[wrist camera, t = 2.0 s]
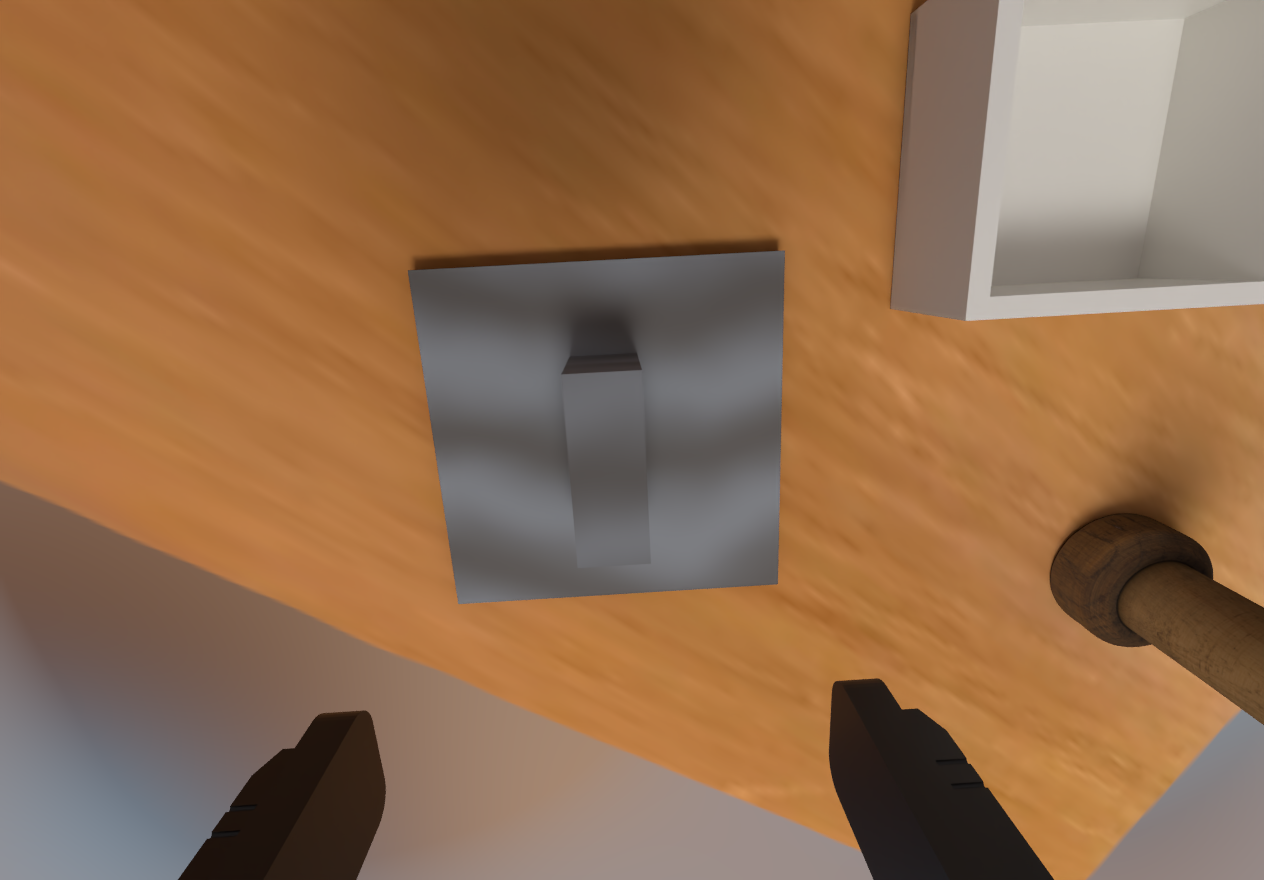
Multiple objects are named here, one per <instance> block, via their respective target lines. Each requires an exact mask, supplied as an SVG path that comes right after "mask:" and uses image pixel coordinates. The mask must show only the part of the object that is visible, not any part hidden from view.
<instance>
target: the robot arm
mask: <svg viewBox="0 0 1264 880" xmlns="http://www.w3.org/2000/svg"><path fill="white" fill-rule="evenodd" d="M829 761H830V769H831V774H832V779H833V783H834V786H835V789H836V792H837V795H838V797H839V800H840V802H841V804H842V807H843V809H844V811H845V814H846V816H847V819H848V821H849V823H850V826H851V828H852V830H853V833H854V835H855V837H856V840H857V842H858V844H859V847H860V849H861V851H862V854H863V856H864V858H865V861H866V863H867V865H868V868H869V870H870V872H871V875H872V877H873V879H874V880H1054V879H1053V878H1052V876H1051V875H1050V873H1049V872H1048V871H1047V869H1046V868H1045V866H1044V865H1043V864H1042V862H1041V861H1040V859H1039V858H1038V857H1037V855H1036V854H1035V853H1034V851H1033V850H1032V848H1031V847H1030V846H1029V844H1028V843H1027V841H1026V840H1025V839H1024V837H1023V836H1022V835H1021V833H1020V832H1019V830H1018V829H1017V828H1016V826H1015V825H1014V823H1013V822H1012V821H1011V819H1010V818H1009V817H1008V815H1007V814H1006V812H1005V811H1004V810H1003V808H1002V807H1001V805H1000V804H999V803H998V801H997V800H996V799H995V797H994V796H993V794H992V793H991V792H990V790H989V789H988V788H985V787H984V784H983V781H982V779H981V778H980V776H979V775H978V774H977V772H976V771H975V769H974V768H973V767H972V765H971V764H968V763H967V759H966V757H965V756H964V754H963V753H962V751H961V750H960V749H959V747H958V746H957V744H956V743H955V742H954V740H953V739H952V738H951V736H950V735H949V733H948V732H947V731H946V730H945V729H944V728H942V727H941V726H940V725H938V724H937V723H936V722H935V721H933V720H932V719H931V718H929V717H928V716H927V715H925V714H924V713H923V712H922V711H920V710H919V709H904V710H902V709H901V708H900V706H899V705H898V703H897V702H896V700H895V698H894V697H893V695H892V694H891V692H890V691H889V689H888V688H887V686H886V685H885V683H884V682H883V681H882V680H880V679H862V680H847V681H836V682H835V683H834V684H833V688H832V701H831V721H830V741H829ZM385 789H386V786H385V778H384V773H383V768H382V763H381V759H380V754H379V750H378V744H377V740H376V735H375V730H374V725H373V721H372V718H371V715H370V714H369V713H368V712H367V711H351V712H336V713H323V714H320V715H318V716H317V717H316V718H315V719H314V720H313V721H312V723H311V725H310V726H309V727H308V729H307V731H306V732H305V734H304V735H303V737H302V738H301V740H300V741H299V743H298V744H297V746H296V747H295V748H293V749H282V750H281V751H280V752H279V753H278V754H277V755H275V756H274V757H273V758H272V759H271V760H270V761H268V762H267V763H266V764H265V765H264V766H263V767H261V768H260V769H259V770H258V771H257V772H256V773H255V774H253V775H252V776H251V778H250V779H249V780H248V782H247V783H246V785H245V786H244V787H243V789H242V790H241V792H240V793H239V795H238V796H237V797H236V799H235V800H234V802H233V803H232V804H231V806H230V811H229V812H226V813H225V814H224V816H223V817H222V818H221V820H220V821H219V823H218V824H217V825H216V827H215V828H214V830H213V831H212V836H211V838H210V839H207V840H206V841H205V843H204V844H203V845H202V847H201V848H200V849H199V851H198V852H197V854H196V855H195V856H194V858H193V859H192V861H191V862H190V864H189V865H188V866H187V868H186V869H185V871H184V872H183V873H182V875H181V876H180V878H179V879H178V880H356V879H357V877H358V874H359V872H360V869H361V867H362V865H363V862H364V860H365V858H366V855H367V853H368V850H369V848H370V846H371V843H372V841H373V839H374V836H375V834H376V831H377V829H378V827H379V824H380V821H381V818H382V814H383V810H384V804H385V794H386V791H385Z"/></svg>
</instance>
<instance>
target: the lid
mask: <svg viewBox="0 0 1264 880" xmlns="http://www.w3.org/2000/svg"><path fill="white" fill-rule="evenodd" d="M784 264H785V251H768V252H749V253H730V254H711V255H692V256H673V257H654V258H635V259H616V260H597V261H578V262H559V263H540V264H522V265H503V266H484V267H465V268H446V269H427V270H408V275H409V282H410V288H411V295H412V301H413V308H414V315H415V321H416V328H417V334H418V341H419V347H420V354H421V361H422V367H423V374H424V380H425V387H426V394H427V400H428V407H429V413H430V420H431V427H432V433H433V440H434V446H435V453H436V459H437V466H438V473H439V479H440V486H441V492H442V499H443V506H444V512H445V519H446V525H447V532H448V539H449V545H450V552H451V558H452V565H453V571H454V578H455V585H456V591H457V598H458V604H466V603H482V602H499V601H515V600H531V599H547V598H563V597H579V596H595V595H612V594H628V593H644V592H660V591H676V590H692V589H708V588H724V587H741V586H757V585H773V584H778V548H779V500H780V453H781V406H782V358H783V311H784Z"/></svg>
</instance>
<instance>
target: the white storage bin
mask: <svg viewBox="0 0 1264 880" xmlns="http://www.w3.org/2000/svg"><path fill="white" fill-rule="evenodd" d="M1251 304H1264V0H927V1H926V2H925V3H924V4H922V5H921V6H920V7H919V8H918V9H916V10H915V11H914V12H913V13H912V14H911V21H910V35H909V50H908V64H907V78H906V92H905V107H904V121H903V135H902V150H901V164H900V178H899V193H898V207H897V221H896V236H895V250H894V264H893V279H892V293H891V307H890V309H895V310H901V311H907V312H913V313H920V314H926V315H932V316H938V317H945V318H951V319H957V320H964V321H971V320H988V319H1006V318H1023V317H1041V316H1058V315H1076V314H1093V313H1111V312H1128V311H1146V310H1163V309H1181V308H1199V307H1216V306H1234V305H1251Z"/></svg>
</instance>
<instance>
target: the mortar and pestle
mask: <svg viewBox="0 0 1264 880" xmlns="http://www.w3.org/2000/svg"><path fill="white" fill-rule="evenodd" d="M1050 578H1051V580H1050V581H1051V588H1052V592H1053V595H1054V598H1055V600H1056V601H1057V603H1058V605H1059V606H1060V607H1061V608H1062V609H1063V610H1064V611H1065V612H1066V613H1067V614H1068V615H1069V616H1070V617H1072V618H1073V619H1074V620H1076V621H1077V622H1078V623H1080V624H1081V625H1082V626H1083V627H1085V628H1086V629H1087V630H1088V631H1090V632H1091V633H1092V634H1094V635H1095V636H1096V637H1098V638H1100V639H1101V640H1103V641H1105V642H1108V643H1110V644H1113V645H1117V646H1124V647H1140V646H1146V645H1151V644H1152V645H1154V646H1155V647H1156V648H1158V649H1159V650H1161V651H1162V652H1163V653H1165V654H1166V655H1168V656H1169V657H1170V658H1172V659H1173V660H1175V661H1176V662H1177V663H1179V664H1180V665H1182V666H1183V667H1184V668H1186V669H1187V670H1189V671H1190V672H1191V673H1193V674H1194V675H1196V676H1197V677H1198V678H1200V679H1201V680H1202V681H1204V682H1205V683H1207V684H1208V685H1209V686H1211V687H1212V688H1214V689H1215V690H1216V691H1218V692H1219V693H1220V694H1222V695H1223V696H1225V697H1226V698H1227V699H1229V700H1230V701H1231V702H1233V703H1234V704H1236V705H1237V706H1238V707H1240V708H1241V709H1242V710H1244V711H1245V712H1247V713H1248V714H1249V715H1251V716H1252V717H1253V718H1255V719H1256V720H1258V721H1259V722H1260V723H1262V724H1263V725H1264V608H1263V607H1262V606H1260V605H1258V604H1256V603H1254V602H1252V601H1251V600H1249V599H1247V598H1245V597H1243V596H1241V595H1240V594H1238V593H1236V592H1234V591H1232V590H1230V589H1229V588H1227V587H1225V586H1223V585H1221V584H1219V583H1218V582H1216V581H1214V580H1213V568H1212V564H1211V561H1210V558H1209V556H1208V554H1207V553H1206V551H1205V550H1204V548H1203V547H1202V546H1201V545H1200V544H1199V543H1197V542H1196V541H1195V540H1193V539H1192V538H1190V537H1188V536H1186V535H1184V534H1182V533H1180V532H1178V531H1176V530H1174V529H1172V528H1170V527H1168V526H1166V525H1164V524H1162V523H1160V522H1158V521H1156V520H1154V519H1151V518H1149V517H1145V516H1142V515H1137V514H1116V515H1111V516H1107V517H1104V518H1101V519H1098V520H1095V521H1093V522H1091V523H1089V524H1088V525H1086V526H1084V527H1083V528H1082V529H1080V530H1079V531H1078V532H1076V533H1075V534H1074V535H1073V536H1072V537H1071V538H1070V539H1069V540H1068V541H1067V542H1066V543H1065V544H1064V546H1063V547H1062V548H1061V550H1060V551H1059V553H1058V554H1057V556H1056V558H1055V561H1054V563H1053V566H1052V569H1051V577H1050Z"/></svg>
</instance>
